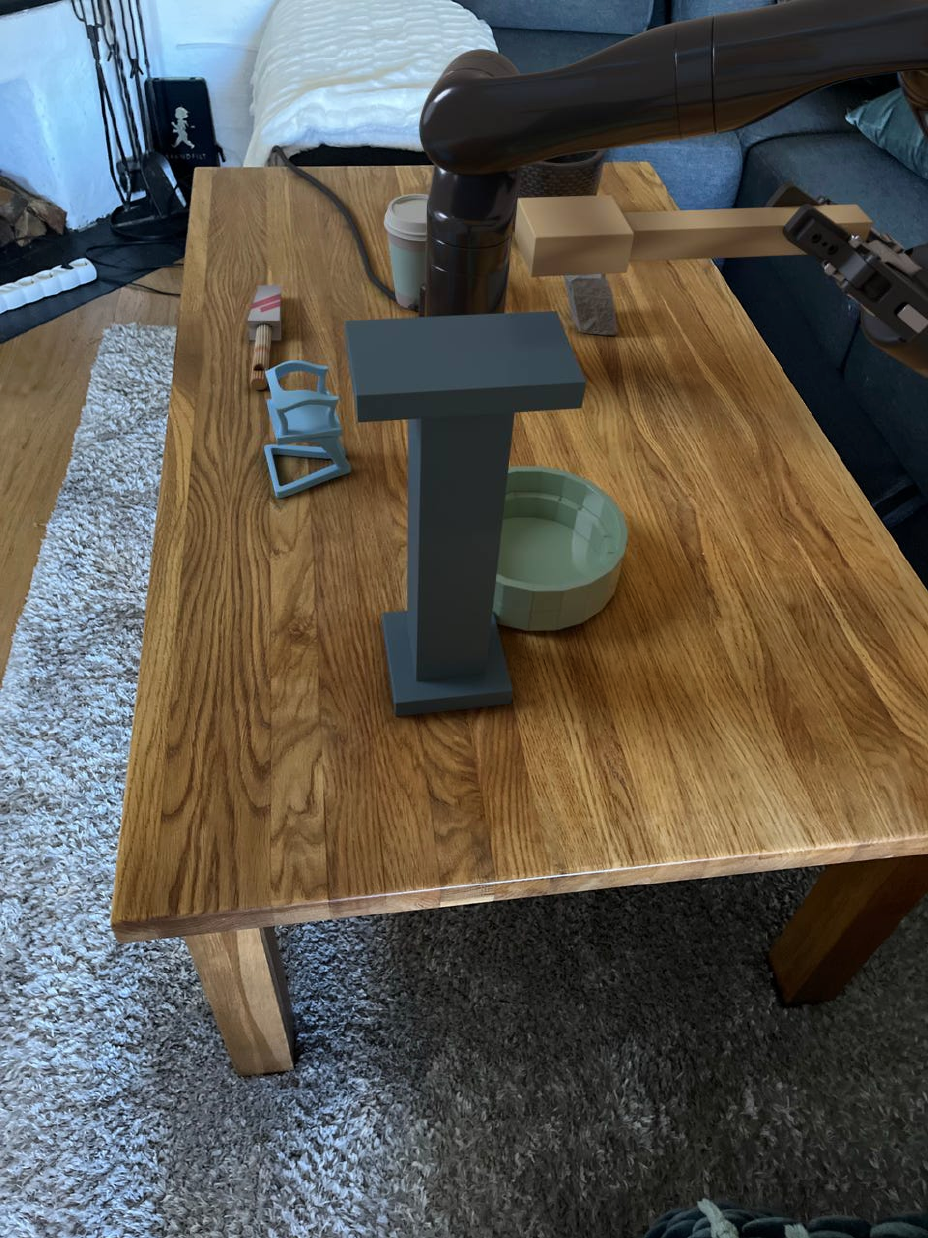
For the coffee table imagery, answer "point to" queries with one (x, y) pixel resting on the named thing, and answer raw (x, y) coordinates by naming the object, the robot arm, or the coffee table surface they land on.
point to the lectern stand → (456, 481)
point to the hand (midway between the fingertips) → (786, 208)
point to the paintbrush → (264, 330)
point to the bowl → (556, 550)
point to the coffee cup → (407, 245)
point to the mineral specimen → (591, 303)
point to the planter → (562, 176)
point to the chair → (304, 426)
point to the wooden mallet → (652, 233)
